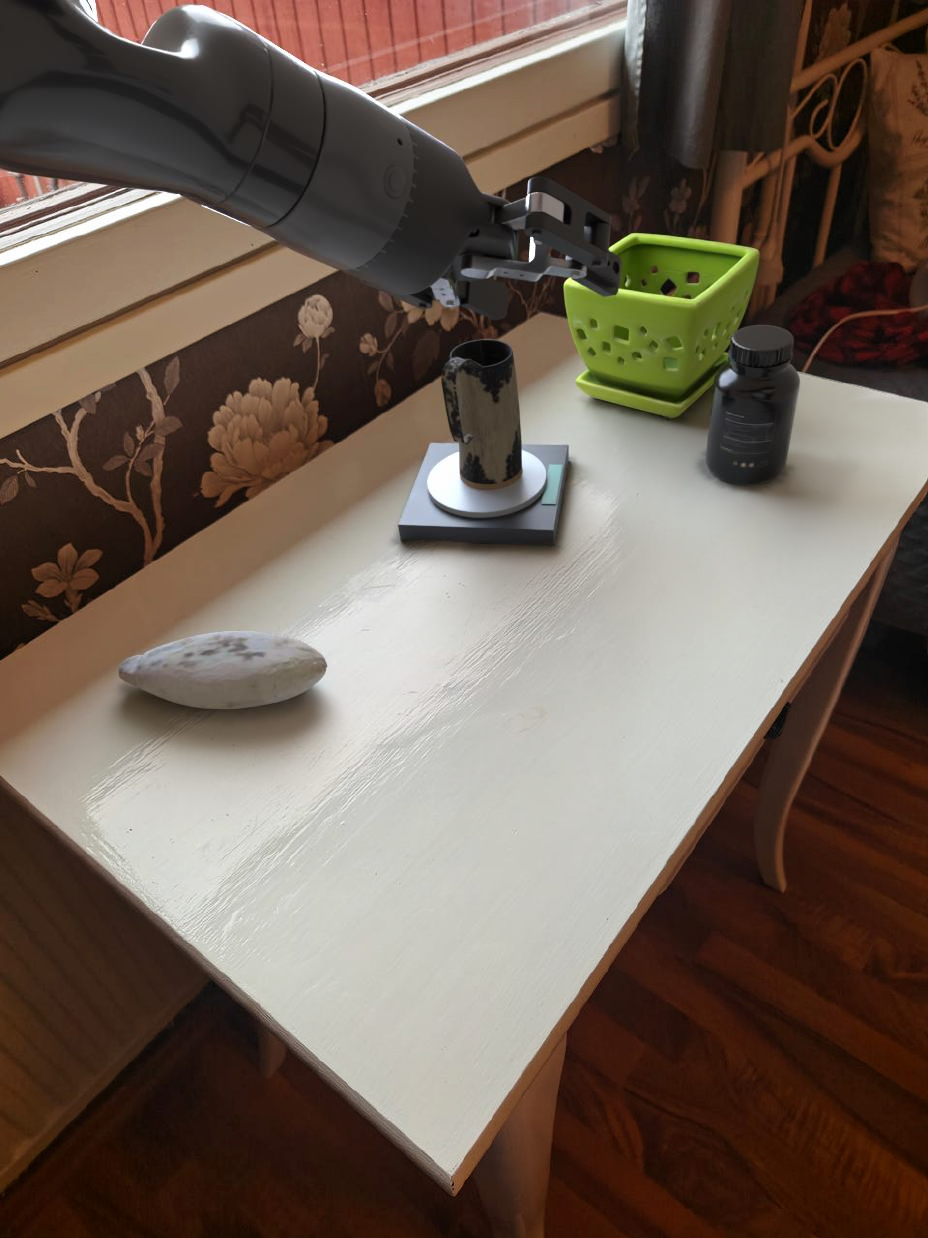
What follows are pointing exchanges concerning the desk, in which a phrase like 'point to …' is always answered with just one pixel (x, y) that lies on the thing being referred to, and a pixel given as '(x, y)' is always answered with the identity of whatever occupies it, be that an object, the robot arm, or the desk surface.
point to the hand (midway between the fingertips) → (555, 292)
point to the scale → (486, 500)
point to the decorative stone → (226, 669)
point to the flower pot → (661, 321)
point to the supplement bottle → (753, 407)
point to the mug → (484, 413)
